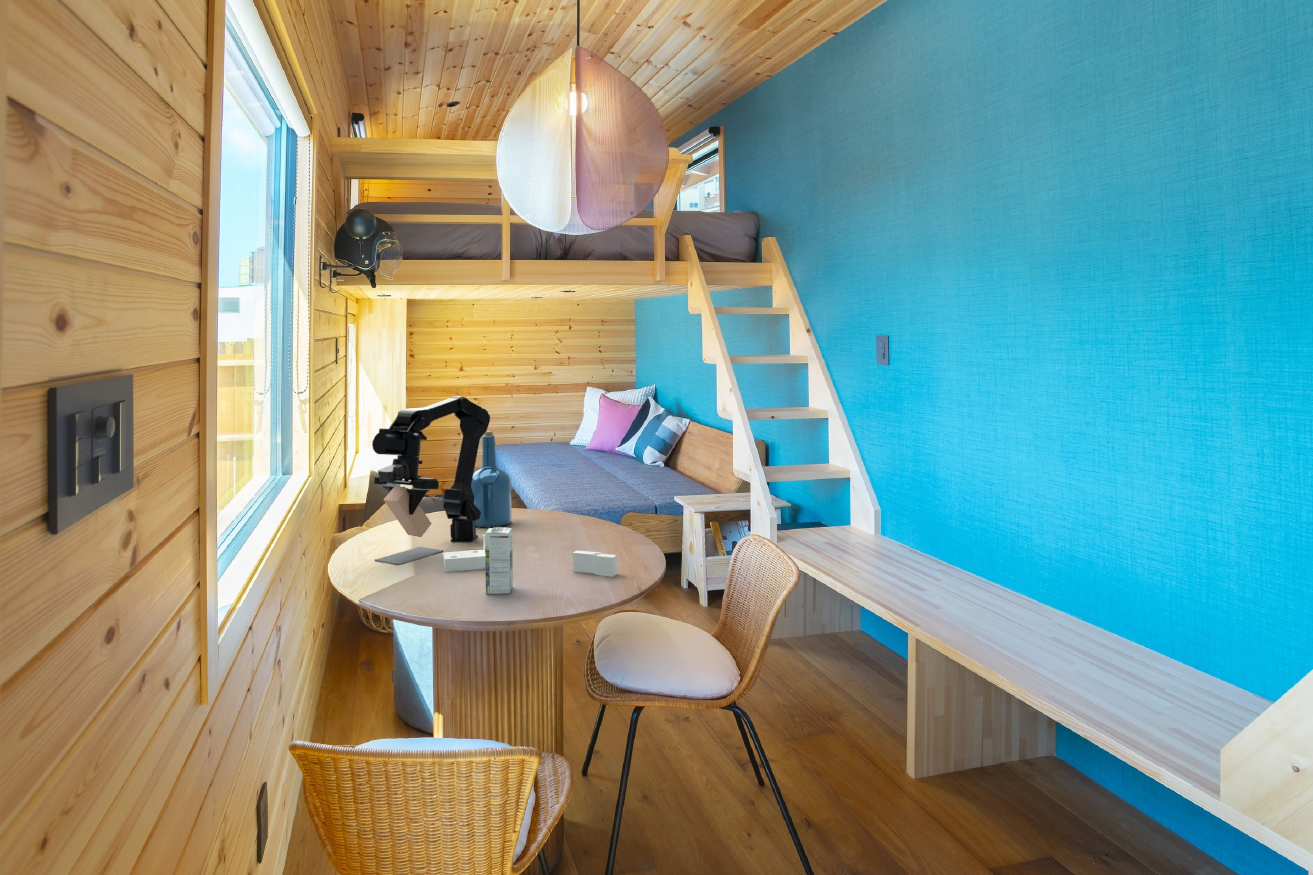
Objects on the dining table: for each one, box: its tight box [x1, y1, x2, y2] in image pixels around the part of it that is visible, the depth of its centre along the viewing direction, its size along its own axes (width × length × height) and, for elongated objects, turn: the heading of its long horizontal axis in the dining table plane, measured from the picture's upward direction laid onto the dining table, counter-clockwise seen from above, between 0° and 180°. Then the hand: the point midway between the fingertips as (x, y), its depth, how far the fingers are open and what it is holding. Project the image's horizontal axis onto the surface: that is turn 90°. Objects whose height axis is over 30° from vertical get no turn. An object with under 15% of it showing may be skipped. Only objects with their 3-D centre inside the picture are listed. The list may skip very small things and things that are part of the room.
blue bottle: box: [471, 430, 513, 528], centre depth 260 cm, size 14×13×30 cm
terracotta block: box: [383, 486, 433, 538], centre depth 221 cm, size 5×5×14 cm
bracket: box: [442, 534, 485, 573], centre depth 212 cm, size 13×7×8 cm, turn 108°
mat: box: [374, 546, 444, 566], centre depth 223 cm, size 16×9×1 cm, turn 151°
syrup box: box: [484, 526, 514, 595], centre depth 190 cm, size 6×6×14 cm
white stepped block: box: [572, 550, 618, 578], centre depth 205 cm, size 15×11×6 cm
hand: (403, 513), depth 220 cm, fingers closed on terracotta block, 5 cm apart
